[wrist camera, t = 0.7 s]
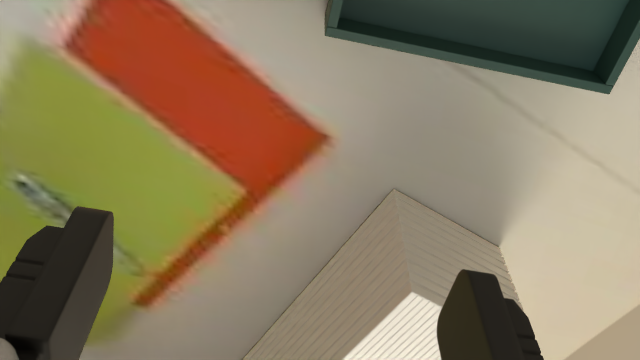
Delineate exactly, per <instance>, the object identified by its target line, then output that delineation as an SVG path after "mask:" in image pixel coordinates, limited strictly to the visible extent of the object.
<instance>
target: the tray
mask: <svg viewBox="0 0 640 360" xmlns="http://www.w3.org/2000/svg"><path fill="white" fill-rule="evenodd" d="M325 36H329V37H334V38H338V39H343V40H348V41H353V42H358V43H363V44H368V45H372V46H377V47H382V48H387V49H392V50H397V51H401V52H406V53H411V54H416V55H421V56H426V57H430V58H435V59H440V60H445V61H450V62H455V63H460V64H464V65H469V66H474V67H479V68H484V69H489V70H493V71H498V72H503V73H508V74H513V75H518V76H523V77H527V78H532V79H537V80H542V81H547V82H552V83H556V84H561V85H566V86H571V87H576V88H581V89H585V90H590V91H595V92H600V93H605V94H610V92H611V90H612V88H613V86H614V85H615V83H616V81H617V79H618V77H619V75H620V73H621V72H622V70H623V68H624V66H625V64H626V62H627V61H628V59H629V57H630V55H631V53H632V51H633V49H634V48H635V46H636V44H637V42H638V40H639V38H640V0H329V1H328V6H327V10H326V15H325Z"/></svg>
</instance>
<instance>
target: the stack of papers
mask: <svg viewBox="0 0 640 360" xmlns="http://www.w3.org/2000/svg"><path fill="white" fill-rule="evenodd" d="M504 264H506V263H505V261H504V258H503V257H502V253H501V250H500V248H499V247H497V246H495V245H493V244H492V243H490V242H488V241H486V240H484V239H483V238H481V237H479V236H477V235H475V234H474V233H472V232H470V231H468V230H466V229H465V228H463V227H461V226H459V225H458V224H456V223H454V222H452V221H450V220H449V219H447V218H445V217H443V216H441V215H440V214H438V213H436V212H434V211H433V210H431V209H429V208H427V207H425V206H424V205H422V204H420V203H418V202H416V201H415V200H413V199H411V198H409V197H407V196H406V195H404V194H402V193H400V192H399V191H397V190H395V189H393V190H392V191H391V193H390V194H389V195H388V196H387V197H386V198H385V199H384V200H383V202H382V203H381V204H380V205H379V206H378V207H377V208H376V210H375V211H374V212H373V213H372V214H371V215H370V216H369V217H368V219H367V220H366V221H365V222H364V223H363V224H362V225H361V226H360V228H359V229H358V230H357V231H356V232H355V233H354V234H353V235H352V237H351V238H350V239H349V240H348V241H347V242H346V243H345V245H344V246H343V247H342V248H341V249H340V250H339V251H338V252H337V254H336V255H335V256H334V257H333V258H332V259H331V260H330V261H329V263H328V264H327V265H326V266H325V267H324V268H323V269H322V270H321V272H320V273H319V274H318V275H317V276H316V277H315V278H314V280H313V281H312V282H311V283H310V284H309V285H308V286H307V287H306V289H305V290H304V291H303V292H302V293H301V294H300V295H299V296H298V298H297V299H296V300H295V301H294V302H293V303H292V304H291V305H290V307H289V308H288V309H287V310H286V311H285V312H284V313H283V315H282V316H281V317H280V318H279V319H278V320H277V321H276V322H275V324H274V325H273V326H272V327H271V328H270V329H269V330H268V331H267V333H266V334H265V335H264V336H263V337H262V338H261V339H260V340H259V342H258V343H257V344H256V345H255V346H254V347H253V348H252V350H251V351H250V352H249V353H248V354H247V355H246V356H245V357H244V359H243V360H441V356H440V351H439V346H438V341H437V322H438V317H439V314H440V311H441V309H442V307H443V305H444V303H445V300H446V298H447V296H448V294H449V292H450V290H451V288H452V286H453V283H454V281H455V279H456V277H457V275H458V273H459V272H460V271H461V270H462V269H465V270H472V271H478V272H484V273H490V274H494V275H495V276H496V277H497V279H498V282H499V285H500V288H501V291H502V293H503V296H504V298H508V299H514V301H515V302H516V303H517V304H518V306H519V307H520V308H521V309H522V310H523V308H522V306H521V303H520V302H518V301H519V298H518V295H517V293H516V292H514V291H515V287H514V284H513V283H511V282H512V279H511V276H510V274H508V272H509V271H508V269H507V266H506V265H504Z"/></svg>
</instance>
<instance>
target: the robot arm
mask: <svg viewBox="0 0 640 360" xmlns="http://www.w3.org/2000/svg"><path fill="white" fill-rule="evenodd" d="M113 226H114V217H113V213H112V212H110V211H104V210H98V209H92V208H86V207H79V206H78V207H76V208H75V209H74V211H73V212H72V214H71V216H70V218H69V220H68V221H67V223H66V225H65V227H64V228H60V227H54V226H46V227H44V228H43V229H41V230H40V231H39V232H37V233H36V234H34V235H33V236H32V237H30V238H29V239H27V241H26V242H25V244H24V246H23V247H22V249H21V250H20V252H19V254H18V255H17V257H16V260H15V262H13V263H12V265H11V266H10V268H9V270H8V271H7V274H6V277H4V278H3V279H2V281H1V283H0V360H79V357H80V355H81V352H82V350H83V347H84V345H85V342H86V340H87V338H88V335H89V333H90V330H91V328H92V325H93V323H94V320H95V318H96V316H97V313H98V311H99V308H100V306H101V303H102V301H103V298H104V296H105V294H106V291H107V288H108V285H109V282H110V278H111V273H112V267H113ZM437 341H438V346H439V351H440V356H441V360H544V359H543V356H541V355H540V353H541V351H540V348H539V345H538V343H537V340H535V335H534V332H533V329H532V327H531V324H530V321H529V319H528V317H527V316H526V314H525V313H524V312H523V311H522V309H521V308H520V307H519V306H518V304H517V303H516V302H515V301H514V299H508V298H504V296H503V293H502V291H501V288H500V285H499V282H498V279H497V277H496V276H495V275H494V274H490V273H484V272H478V271H472V270H465V269H462V270H461V271H460V272H459V273H458V275H457V277H456V279H455V281H454V283H453V286H452V288H451V290H450V292H449V294H448V296H447V298H446V300H445V303H444V305H443V307H442V309H441V311H440V314H439V317H438V322H437Z"/></svg>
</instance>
